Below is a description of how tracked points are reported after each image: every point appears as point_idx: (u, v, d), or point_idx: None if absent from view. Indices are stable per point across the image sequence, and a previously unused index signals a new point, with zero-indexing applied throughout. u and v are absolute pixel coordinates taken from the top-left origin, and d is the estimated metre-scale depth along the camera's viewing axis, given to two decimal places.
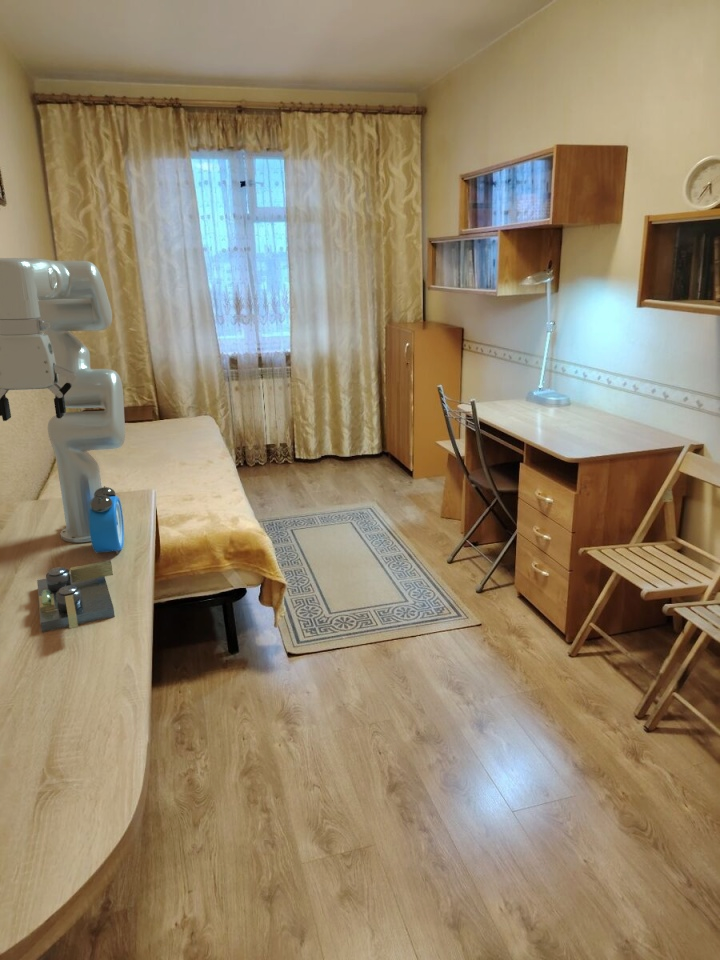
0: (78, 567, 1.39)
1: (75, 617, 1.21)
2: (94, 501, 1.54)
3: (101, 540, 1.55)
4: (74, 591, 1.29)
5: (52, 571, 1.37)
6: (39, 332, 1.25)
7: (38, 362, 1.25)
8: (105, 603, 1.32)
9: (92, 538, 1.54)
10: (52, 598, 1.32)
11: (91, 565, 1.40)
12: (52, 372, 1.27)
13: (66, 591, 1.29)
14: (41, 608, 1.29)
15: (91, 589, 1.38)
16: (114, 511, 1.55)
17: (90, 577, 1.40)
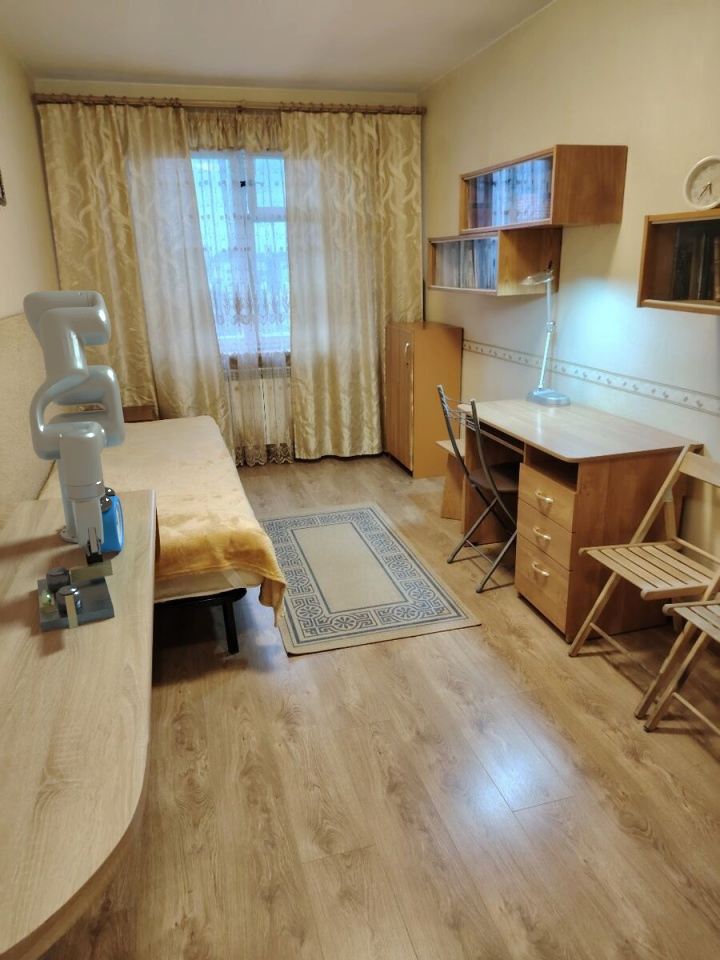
0: (78, 567, 1.39)
1: (75, 617, 1.21)
2: None
3: None
4: (74, 591, 1.29)
5: (52, 571, 1.37)
6: None
7: None
8: (105, 603, 1.32)
9: None
10: (52, 598, 1.32)
11: (91, 565, 1.40)
12: None
13: (66, 591, 1.29)
14: (41, 608, 1.29)
15: (91, 589, 1.38)
16: (114, 511, 1.55)
17: (90, 577, 1.40)
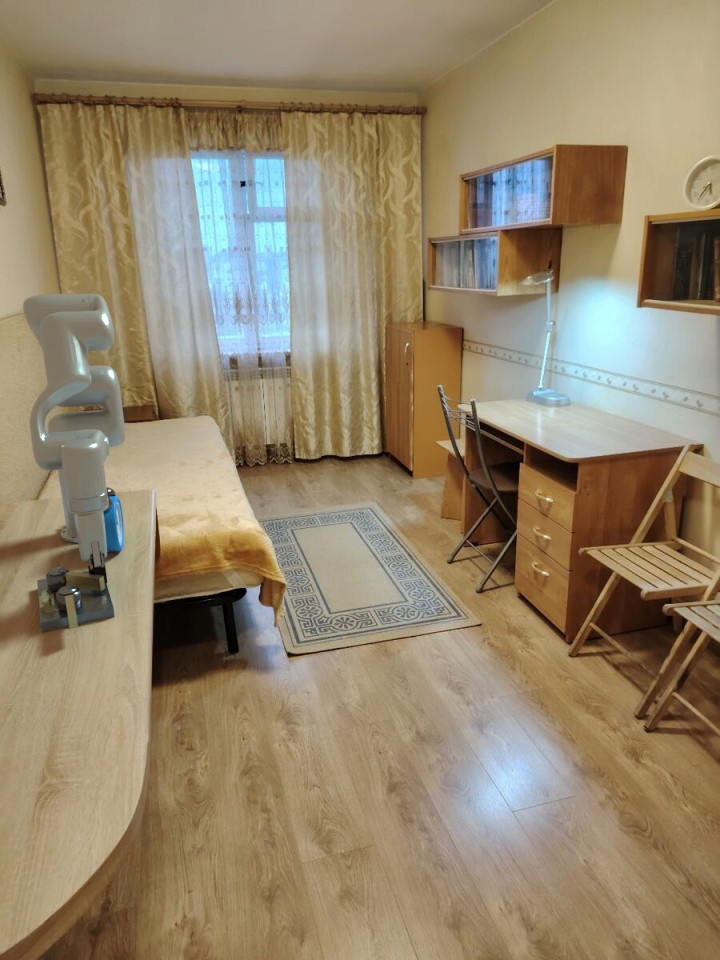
0: (74, 573, 1.37)
1: (75, 617, 1.21)
2: None
3: None
4: (74, 591, 1.29)
5: (53, 570, 1.38)
6: None
7: None
8: (105, 603, 1.32)
9: None
10: (52, 598, 1.32)
11: (84, 575, 1.36)
12: None
13: (66, 591, 1.29)
14: (41, 608, 1.29)
15: None
16: (114, 511, 1.55)
17: (81, 586, 1.36)
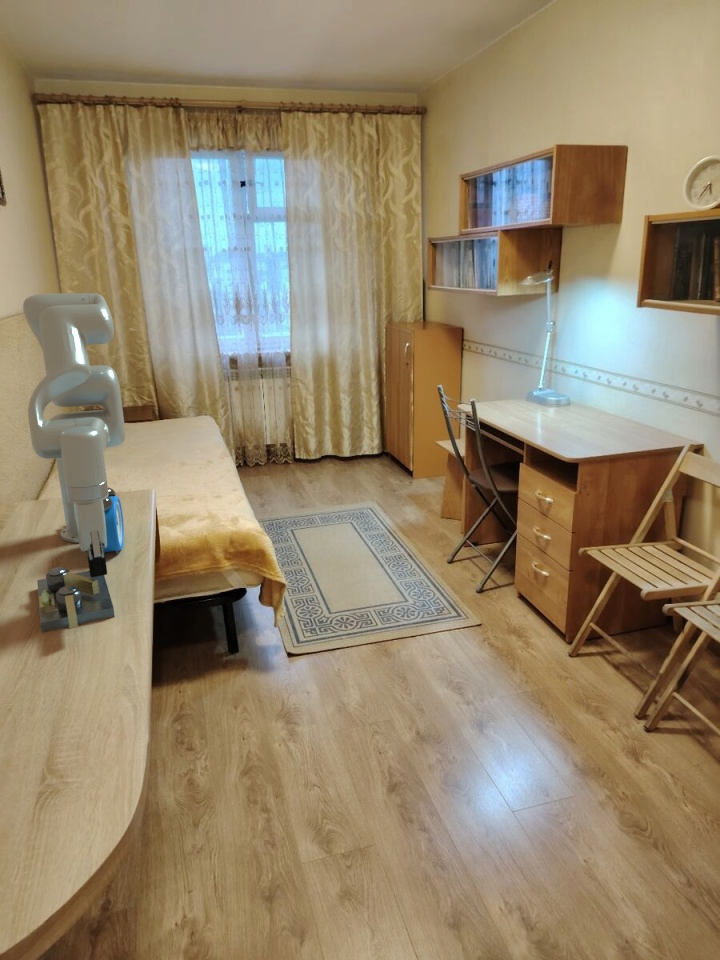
0: (71, 575, 1.36)
1: (75, 617, 1.21)
2: None
3: None
4: (74, 591, 1.29)
5: (53, 569, 1.38)
6: None
7: None
8: (105, 603, 1.32)
9: None
10: (52, 598, 1.32)
11: (80, 577, 1.35)
12: None
13: (66, 591, 1.29)
14: (41, 608, 1.29)
15: None
16: (114, 511, 1.55)
17: None
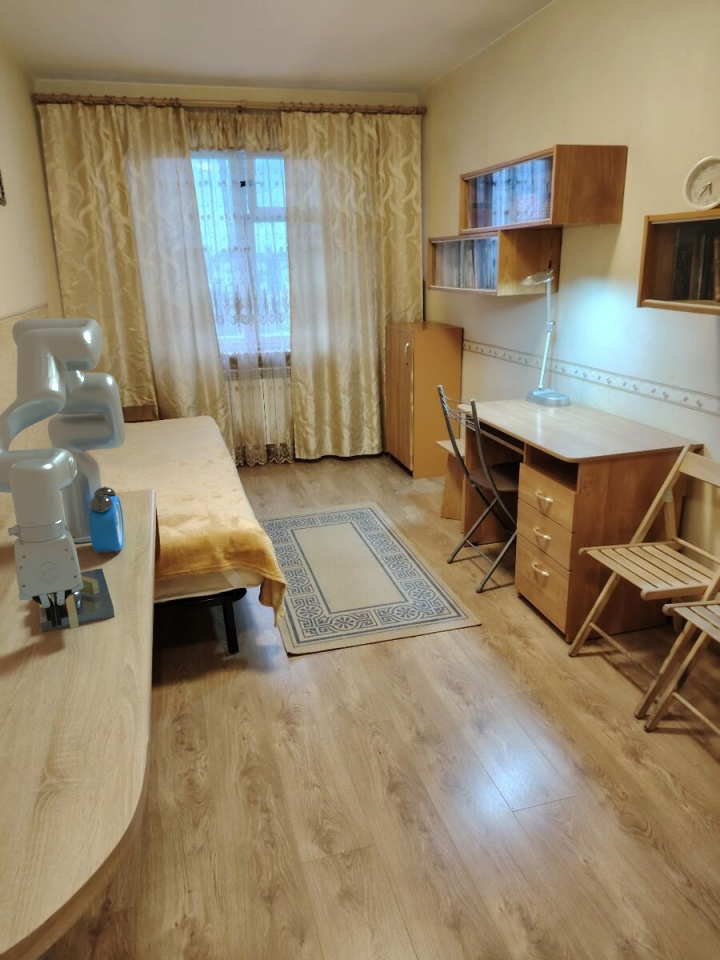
0: None
1: (76, 617, 1.21)
2: (93, 501, 1.54)
3: (101, 540, 1.55)
4: None
5: None
6: None
7: None
8: (105, 603, 1.32)
9: (92, 538, 1.54)
10: (52, 598, 1.32)
11: None
12: None
13: None
14: (41, 608, 1.29)
15: None
16: (114, 511, 1.55)
17: None
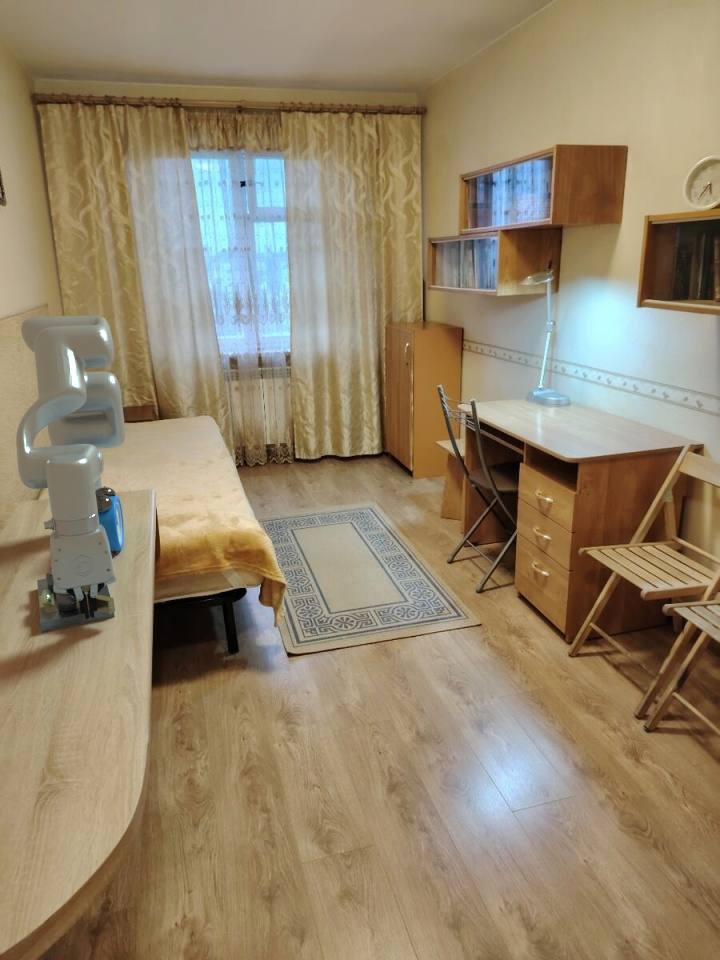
0: None
1: (113, 602, 1.27)
2: None
3: None
4: None
5: None
6: None
7: None
8: None
9: None
10: (52, 598, 1.32)
11: None
12: None
13: None
14: (41, 608, 1.29)
15: None
16: (114, 511, 1.55)
17: None
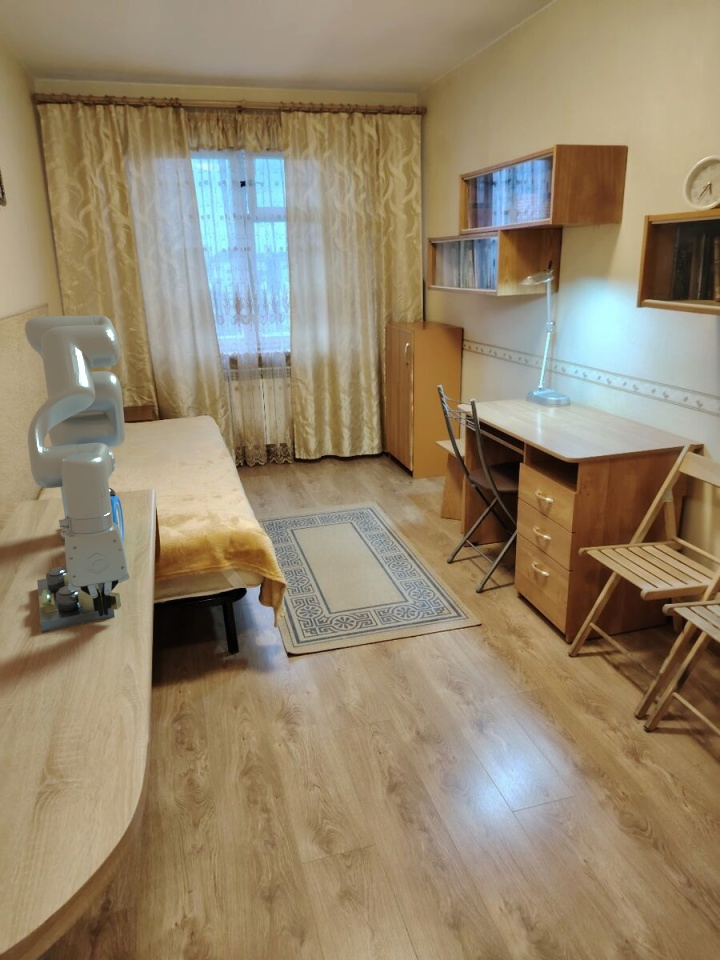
0: None
1: (119, 597, 1.28)
2: None
3: None
4: None
5: (53, 569, 1.38)
6: None
7: None
8: None
9: None
10: (52, 598, 1.32)
11: None
12: None
13: None
14: (41, 608, 1.29)
15: None
16: (114, 511, 1.55)
17: None
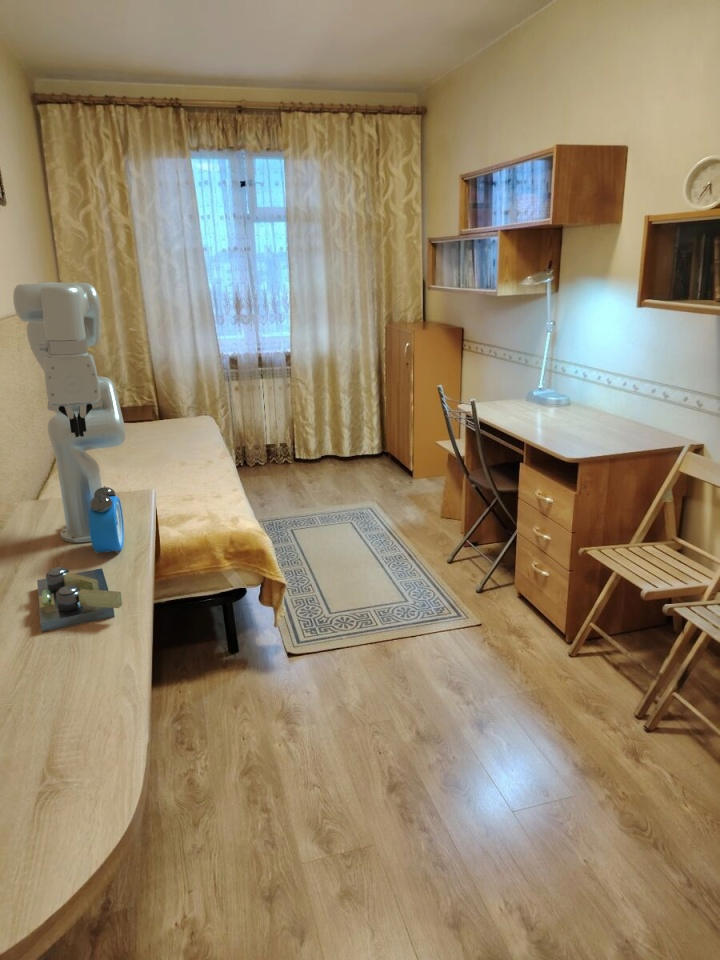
0: (71, 575, 1.36)
1: (120, 596, 1.29)
2: (93, 501, 1.54)
3: (101, 540, 1.55)
4: (76, 588, 1.31)
5: (53, 569, 1.38)
6: None
7: None
8: None
9: (92, 538, 1.54)
10: (52, 598, 1.32)
11: (79, 577, 1.35)
12: None
13: (71, 589, 1.29)
14: (41, 608, 1.29)
15: None
16: (114, 511, 1.55)
17: None
